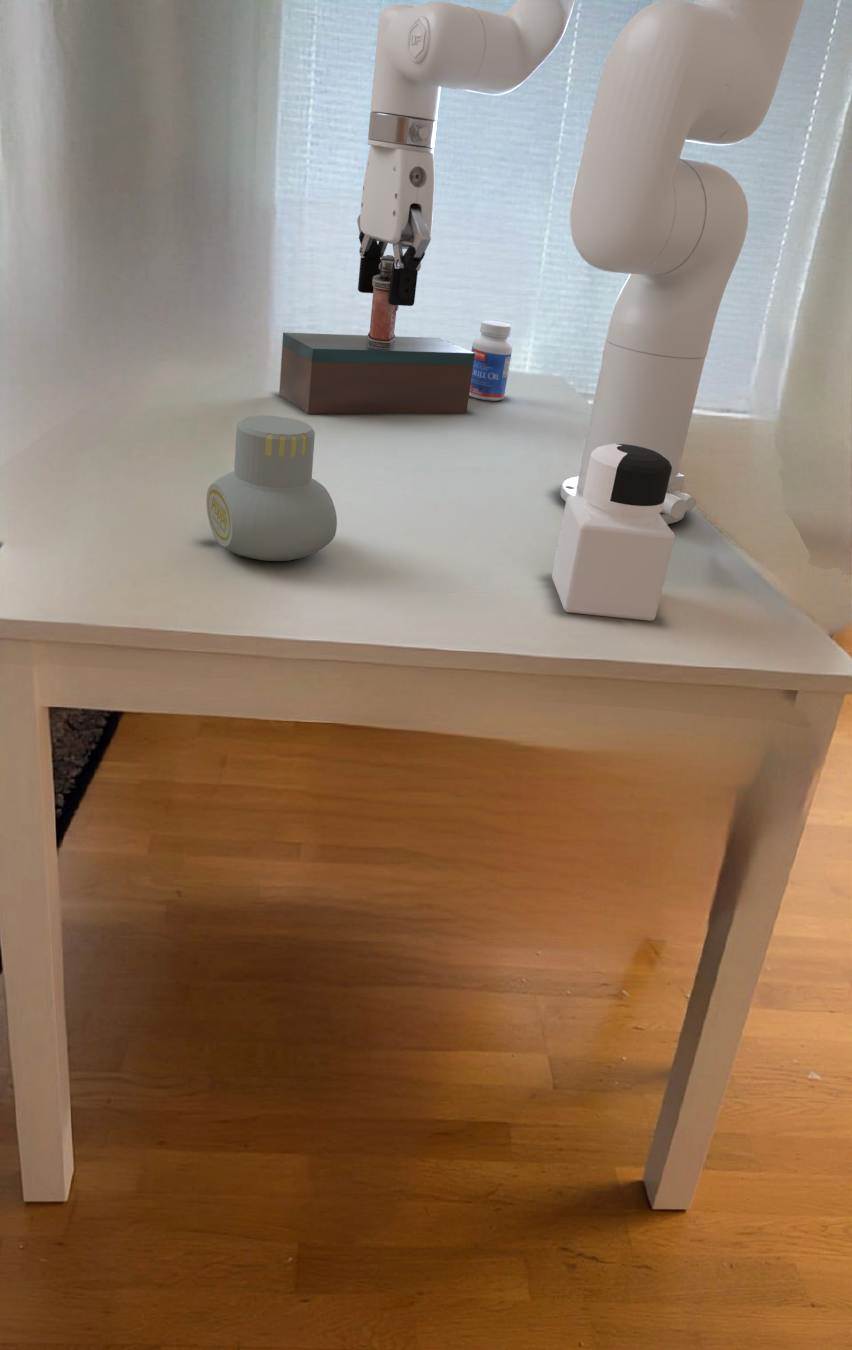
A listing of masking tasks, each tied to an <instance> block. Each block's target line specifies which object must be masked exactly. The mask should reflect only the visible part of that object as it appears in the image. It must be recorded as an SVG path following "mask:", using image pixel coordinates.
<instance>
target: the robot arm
mask: <svg viewBox="0 0 852 1350" xmlns="http://www.w3.org/2000/svg"><path fill="white" fill-rule="evenodd" d="M575 1H576V0H515V1H514V3H512V5H511V6H510V8H509V9H507V10H506V12H505V13H503V14H498V13H494V12H491V11H486V10H482V9H478V8H473V7H470V6H463V5H459V4H456V3H452V2H447V1H430V2H426V3H423V4H419V5H416V6H415V5H407V4H391V5H388V6H386V7H384V8H383V9H382V11H381V13H380V14H379V19H378V24H377V25H378V26H377V34H376V35H377V36H376V47H375V58H374V69H373V80H372V89H371V90H372V91H371V101H370V112H369V113H370V114H369V122H368V123H369V124H368V135H367V136H368V137H367V145H369V146H370V147H369V151H368V155H367V161H366V167H365V171H364V172H365V173H364V179H363V186H362V192H361V193H362V194H361V202H360V214H359V215H358V217H357V219H356V220H357V221H356V222H357V227H358V232H359V234H358V240H359V243H360V247H359V251H358V252H359V253H358V254H359V256H360V261H359V270H358V271H359V273H358V283H357V291H358V292H359V293H362V294H373V289H374V287H373V285H372V281H373V277H374V276H375V275H378V274H380V269H379V264H380V263H381V260H382V255H383V256H385V252H386V250H387V247H388V244H390V245H392V251H393V257H394V259H395V268H392V270H391V280H390V290H389V299H388V302H389V304H391V305H399V306H402V307H403V306H404V307H412V306H414V304H415V301H416V300H415V299H416V290H417V283H418V273H419V271H420V270H421V267H422V263H421V262H422V261H423V259H424V257H425V255H426V251H427V249H428V247H429V245H430V243H431V239H432V229H433V220H434V219H433V218H434V207H435V206H434V204H435V185H436V184H435V183H436V180H435V178H436V173H435V171H436V169H435V166H436V165H435V153H434V150H435V142H436V133H437V124H438V116H439V106H440V98H441V90H442V88H445V89H452V90H458V91H459V90H460V91H465V92H466V91H467V92H471V93H477V94H480V95H481V94H482V95H488V96H502V95H505V94H508V93H510V92H512V91H513V90H515V89H517V88H518V87H520V86H521V85H522V84H523V83H524V82H525V81H527V80H528V79H529V78H530V77H531V76H532V75H533V74H534V73H535V72H536V71H537V69H539V67H540V66H542V64H543V63H544V62H545V61H546V60H547V59H548V58H549V57H550V55H551V54H552V53H553V52H554V51H555V49H556V48H557V47H558V45H559V44H560V42H561V41H562V39H563V36H564V35H565V33H566V29H567V27H568V25H569V23H570V22H569V21H570V19H571V16H572V12H573V9H574V5H575ZM804 3H805V0H694V1H693V2H692V1H688V0H659V1H656V2H653V3H651V4H649V5H647V6H645V7H643V8H642V9H641V10H639V11H638V12H636V14H634V15H633V16H632V17H631V18H630V19H629V20H628V21H627V22H626V24H625V25H624V27H623V28H622V29H621V30H620V32H619V34H618V35H617V37H616V38H615V40H614V42H613V44H612V46H611V48H610V50H609V52H608V54H607V56H606V59H605V61H604V65H603V68H602V71H601V74H600V77H599V82H598V86H597V90H596V93H595V99H594V102H593V106H592V110H591V114H590V118H589V123H588V127H587V131H586V134H585V139H584V143H583V147H582V152H581V156H580V158H579V159H580V160H579V163H578V168H577V171H576V176H575V181H574V185H573V189H572V195H571V200H570V207H569V208H570V210H569V227H570V234H571V239H572V242H573V245H574V247H575V249H576V251H577V253H578V254H579V256H580V257H581V258H582V259H583V261H585V262H586V263H587V264H588V265H589V266H591V267H593V268H594V269H597V270H599V271H603V272H606V273H614V274H623V275H628V276H627V279H626V280H625V282H624V284H623V286H622V288H621V289H620V292H619V294H618V296H617V298H616V300H615V303H614V305H613V308H612V311H611V315H610V318H609V321H608V325H607V326H608V327H607V331H606V337H605V340H604V345H603V351H602V356H601V360H600V366H599V370H598V376H597V380H596V381H597V382H596V387H595V392H594V396H593V401H592V407H591V413H590V416H589V422H588V428H587V431H586V432H587V433H586V438H585V443H584V448H583V453H582V457H581V458H582V459H581V464H580V469H579V473H578V475H577V476H573V477H569V478H567V479H566V480H564V481H563V482H562V483H561V486H560V491H559V495H560V497H561V499H562V500H563V501H564V503H566V500H567V498H568V497H569V496H580V497H583V491H584V486H585V481H586V476H587V471H588V466H589V461H590V456H591V453H592V452H593V451H594V450H595V449H596V448H598V447H601V446H605V445H608V444H627V445H634V446H639V447H643V448H647V449H650V450H653V451H655V452H657V453H659V454H661V455H662V456H663V457H665V458H666V459H667V460H668V461H669V462H670V464H671V466H672V471H671V475H670V479H669V483H668V488H667V492H666V496H665V500H664V504H663V509H662V511H661V512H660V513H659V514H660V515H661V517H662V518H663V519H664V521H665V522H666V524H667V525H670V524H675V523H678V522H679V521H681V520H682V519H684V517H685V514H686V511H688V512H690V511H692V510H693V509H694V508H695V506H696V505H697V498H696V497H694V496H692V495H691V494H689V493H686V492H682V490H683V485H684V480H685V477H686V476H685V475H683V474H681V473H680V472H679V470H680V466H681V461H682V457H683V452H684V449H685V445H686V440H687V436H688V433H689V429H690V424H691V420H692V415H693V411H694V407H695V403H696V399H697V394H698V391H699V390H698V389H699V386H700V381H701V378H702V373H703V369H704V364H705V360H706V357H707V354H708V350H709V346H710V342H711V340H712V339H711V338H712V335H713V330H714V326H715V323H716V319H717V316H718V311H719V309H720V306H721V303H722V299H723V297H724V294H725V291H726V288H727V286H728V283H729V280H730V279H731V276H732V273H733V271H734V269H735V266H736V264H737V262H738V259H739V256H740V254H741V251H742V249H743V246H744V243H745V239H746V236H747V230H748V225H749V207H748V201H747V198H746V195H745V192H744V191H743V188H742V186H741V185H740V183H739V182H738V180H736V178H735V177H734V176H733V175H732V174H731V173H729V172H728V171H727V170H725V169H723V168H722V167H720V166H718V165H715V164H713V163H709V162H706V161H702V160H701V161H700V160H696V159H690V158H683V157H682V156H681V155H682V153H683V149H684V146H685V144H686V142H688V143H695V144H703V145H711V146H731V145H734V144H735V145H736V144H739V143H741V142H743V141H745V140H746V139H748V138H750V137H751V136H752V135H753V134H754V133H755V132H756V131H757V130H758V129H759V128H760V126H761V125H762V123H763V122H764V121H765V118H766V116H767V114H768V111H769V109H770V107H771V104H772V102H773V99H774V96H775V94H776V90H777V87H778V84H779V81H780V78H781V75H782V71H783V69H784V65H785V62H786V59H787V57H788V52H789V49H790V47H791V44H792V40H793V37H794V34H795V30H796V28H797V25H798V22H799V19H800V15H801V12H802V9H803V5H804ZM403 250H405V252H404V251H403Z"/></svg>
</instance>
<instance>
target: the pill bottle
mask: <svg viewBox="0 0 852 1350" xmlns="http://www.w3.org/2000/svg"><path fill="white" fill-rule="evenodd" d="M511 329H512V325H511V324H509V323H507V322H506V323H505V322H502V321H497V320H488V319H487V320H486V319H485V320H482V321H481V323H480V329H479V333H481V334H480V336H477V337H475V338H474V340H473V341H472V345H471V350H470V351H471V352H473V353H475V358H474V365H473V372H472V379H471V386H470V393H469V397H471V398H473V399H478V400H482V401H489V402H494V401H495V402H496V401H501V400H503V399H504V397H505V393H506V388H507V382H508V377H509V371H510V366H511V359H512V353H513V345H512V343H511V342H510V341H508V338H509V337H510V335H511Z"/></svg>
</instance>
